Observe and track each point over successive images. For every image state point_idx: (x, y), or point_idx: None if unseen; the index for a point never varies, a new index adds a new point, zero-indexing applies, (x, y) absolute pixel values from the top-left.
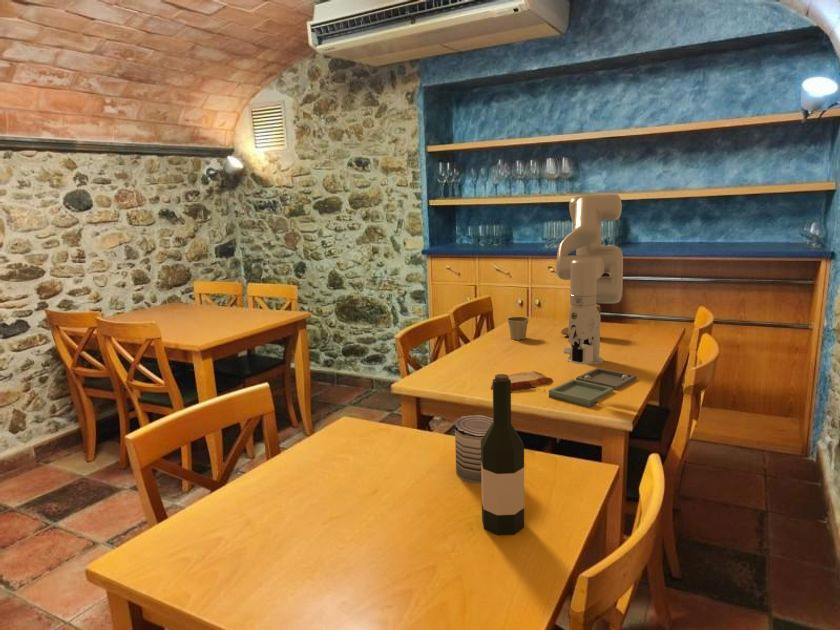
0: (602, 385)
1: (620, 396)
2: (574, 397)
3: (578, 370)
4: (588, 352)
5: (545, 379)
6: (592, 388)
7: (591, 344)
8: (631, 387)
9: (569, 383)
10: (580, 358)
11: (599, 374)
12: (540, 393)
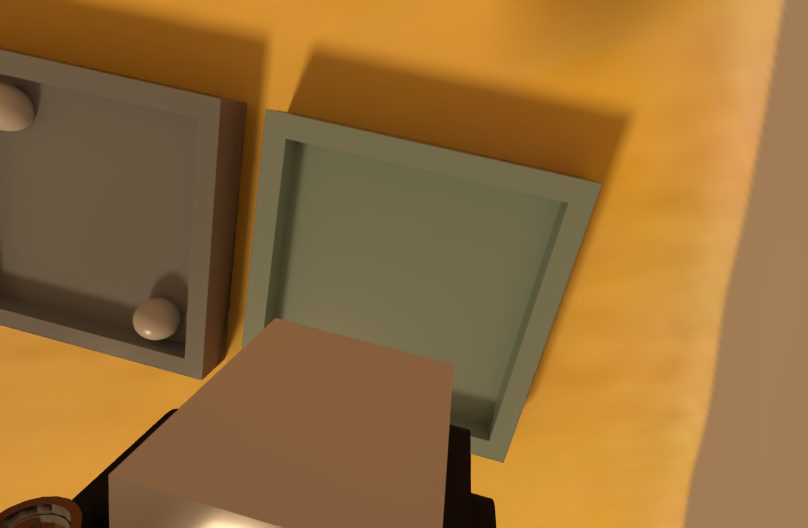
0: (221, 203)
1: (289, 57)
2: (557, 299)
3: (19, 397)
4: (351, 448)
5: None
6: (286, 250)
7: (38, 512)
8: (90, 41)
9: None
10: (463, 476)
11: (30, 279)
12: None
